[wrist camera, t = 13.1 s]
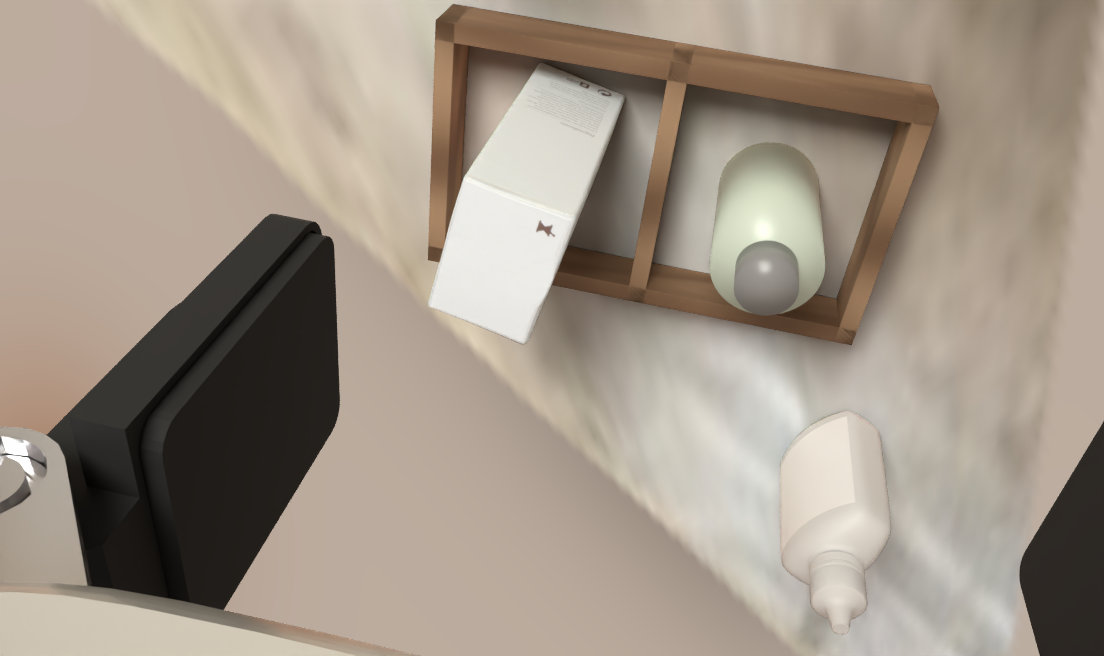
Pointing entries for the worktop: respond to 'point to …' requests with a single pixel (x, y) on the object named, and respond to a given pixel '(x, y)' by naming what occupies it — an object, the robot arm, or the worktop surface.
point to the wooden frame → (679, 68)
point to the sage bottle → (768, 231)
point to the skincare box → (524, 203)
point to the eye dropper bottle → (834, 513)
